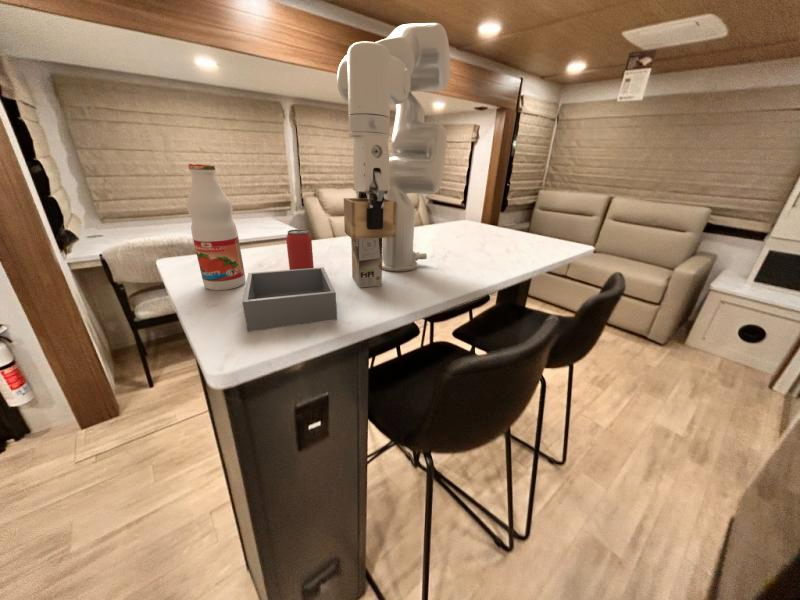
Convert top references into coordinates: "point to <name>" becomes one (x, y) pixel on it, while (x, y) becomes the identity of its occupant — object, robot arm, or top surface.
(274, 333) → the top surface
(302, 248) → the beer can
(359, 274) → the coffee box
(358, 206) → the small crate
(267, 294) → the big crate
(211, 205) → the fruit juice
